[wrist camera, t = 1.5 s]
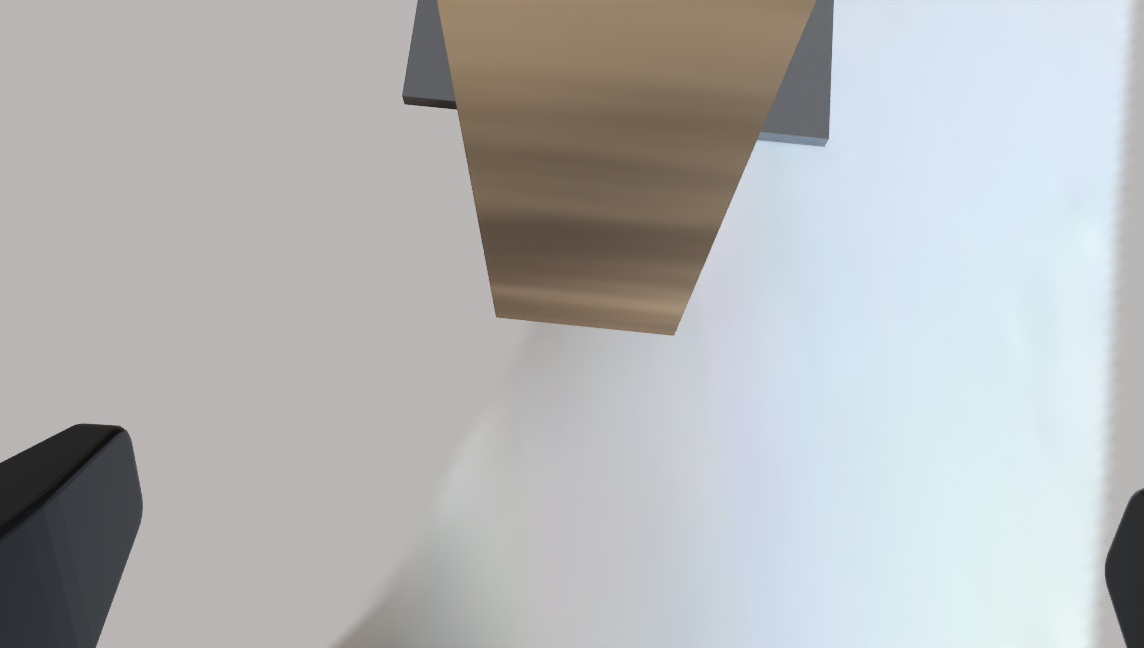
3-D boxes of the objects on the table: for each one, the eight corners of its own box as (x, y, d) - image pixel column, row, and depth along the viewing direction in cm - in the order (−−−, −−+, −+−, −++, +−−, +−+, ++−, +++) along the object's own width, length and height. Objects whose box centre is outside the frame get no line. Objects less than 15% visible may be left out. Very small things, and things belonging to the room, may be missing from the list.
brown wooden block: (673, 335, 23) (816, -1, 11) (496, 317, 23) (429, -39, 11) (686, 171, 24) (829, -307, 12) (516, 154, 24) (478, -341, 12)
